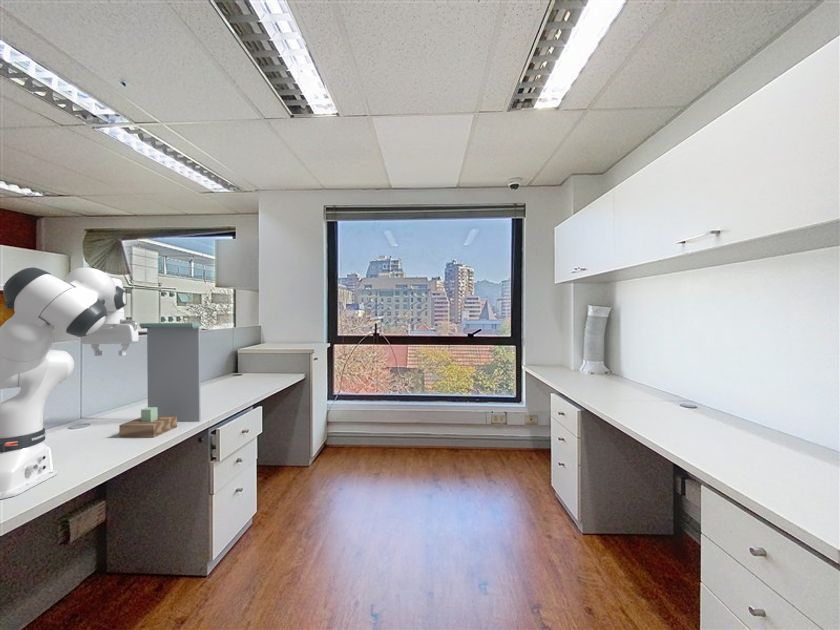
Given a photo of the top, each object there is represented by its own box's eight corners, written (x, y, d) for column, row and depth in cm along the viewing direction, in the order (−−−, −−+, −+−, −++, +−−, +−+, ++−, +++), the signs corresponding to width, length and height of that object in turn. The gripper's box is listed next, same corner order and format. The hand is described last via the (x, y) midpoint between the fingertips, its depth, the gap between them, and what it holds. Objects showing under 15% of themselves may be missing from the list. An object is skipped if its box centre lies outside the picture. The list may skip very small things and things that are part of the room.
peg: (150, 433, 156) (150, 409, 156) (141, 433, 156) (141, 409, 156) (157, 430, 160) (157, 407, 160) (148, 430, 160) (148, 407, 160)
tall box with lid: (193, 424, 168) (192, 323, 168) (140, 424, 168) (139, 323, 168) (200, 420, 173) (199, 322, 173) (149, 420, 174) (148, 323, 173)
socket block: (153, 437, 151) (153, 425, 150) (119, 437, 151) (119, 425, 151) (176, 426, 165) (176, 415, 164) (145, 426, 165) (145, 415, 165)
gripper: (142, 319, 148) (143, 354, 148) (91, 320, 148) (91, 355, 148) (130, 319, 142) (130, 356, 141) (76, 320, 142) (77, 356, 142)
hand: (110, 355), depth 145 cm, fingers open, 8 cm apart
